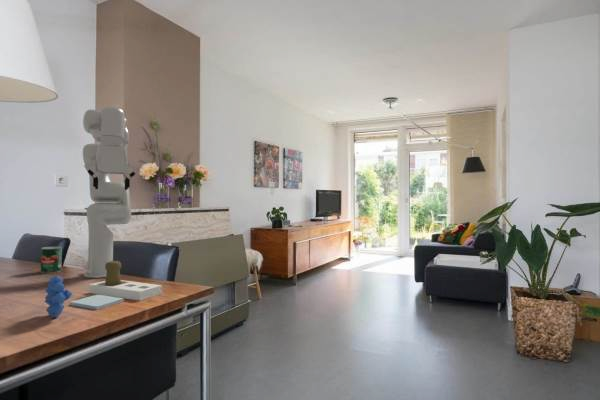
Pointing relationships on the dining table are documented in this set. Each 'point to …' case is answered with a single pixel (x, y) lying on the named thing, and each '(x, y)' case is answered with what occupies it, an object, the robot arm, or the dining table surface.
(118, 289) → the white board with cutout
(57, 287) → the grapes
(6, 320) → the dining table surface
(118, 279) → the olive rounded piece
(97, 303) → the rubber mat
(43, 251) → the canned tomato
